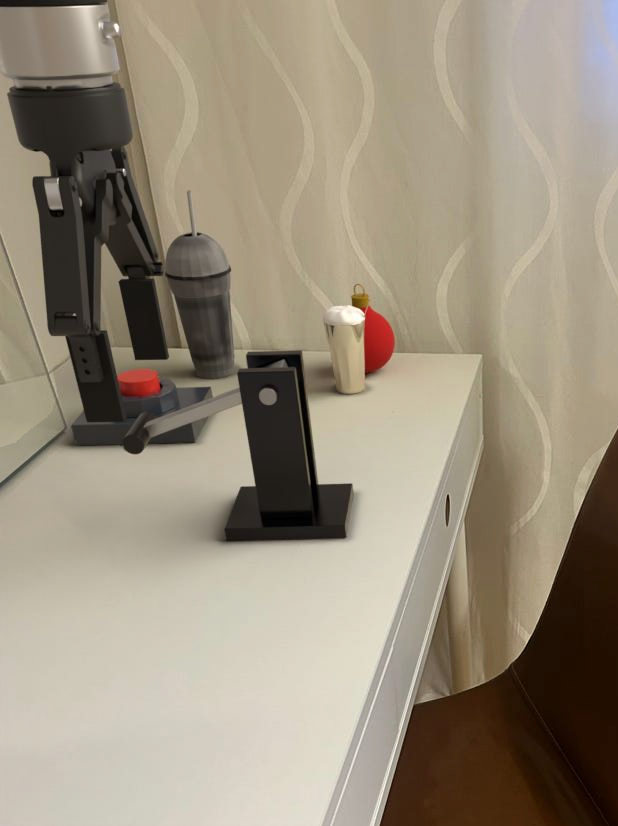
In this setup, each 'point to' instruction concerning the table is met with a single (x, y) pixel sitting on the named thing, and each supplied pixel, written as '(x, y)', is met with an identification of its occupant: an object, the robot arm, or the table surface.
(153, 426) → the lever
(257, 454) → the bracket
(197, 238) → the beverage cup
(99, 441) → the control block
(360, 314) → the milkshake
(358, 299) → the christmas ornament
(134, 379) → the button
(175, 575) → the table surface
